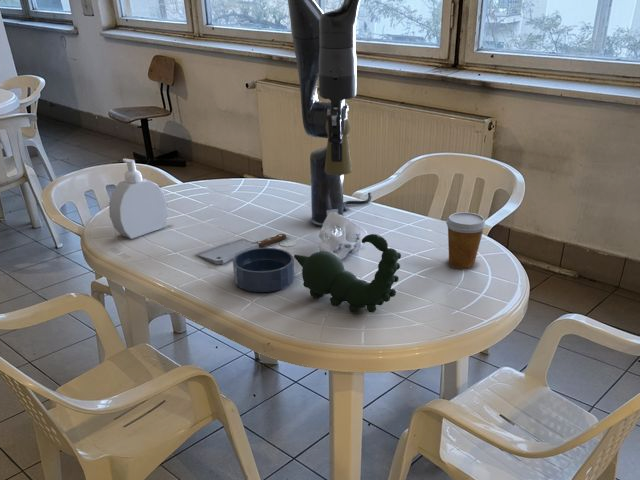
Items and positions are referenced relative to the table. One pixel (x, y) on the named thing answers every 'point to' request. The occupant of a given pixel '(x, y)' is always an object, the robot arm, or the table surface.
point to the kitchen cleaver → (236, 249)
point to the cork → (345, 164)
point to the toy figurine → (351, 277)
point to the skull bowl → (340, 235)
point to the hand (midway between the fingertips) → (338, 158)
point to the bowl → (263, 269)
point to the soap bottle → (137, 205)
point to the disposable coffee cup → (464, 238)
